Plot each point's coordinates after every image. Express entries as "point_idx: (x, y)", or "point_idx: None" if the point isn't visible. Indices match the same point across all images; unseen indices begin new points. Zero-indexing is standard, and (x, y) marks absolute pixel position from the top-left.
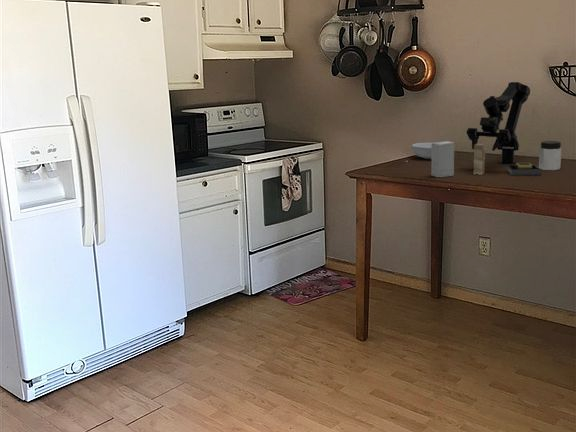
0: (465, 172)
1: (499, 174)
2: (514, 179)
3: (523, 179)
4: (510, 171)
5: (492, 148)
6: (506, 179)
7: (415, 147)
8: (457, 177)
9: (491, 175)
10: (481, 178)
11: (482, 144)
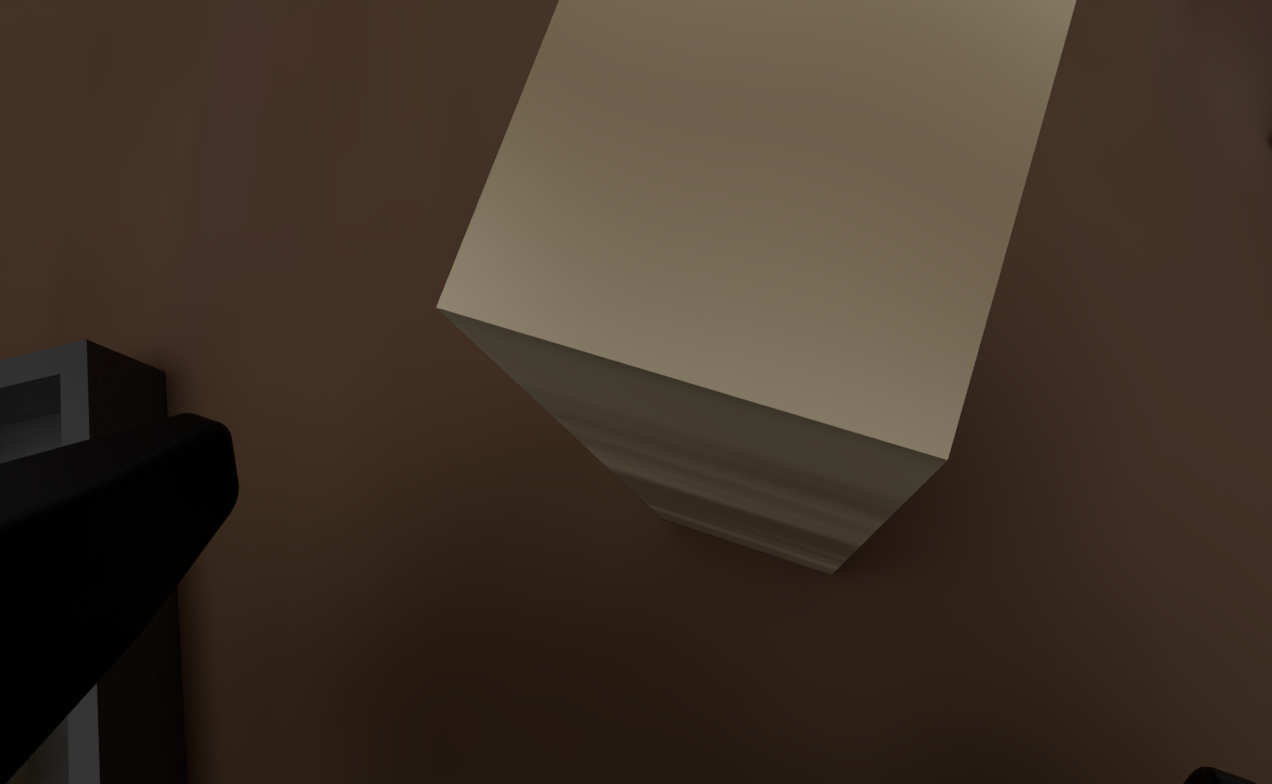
0: (1100, 610)
1: (367, 471)
2: (160, 61)
3: (32, 90)
4: None
5: (190, 435)
6: (278, 34)
7: None
8: (1146, 18)
9: None
10: None
11: (601, 185)
